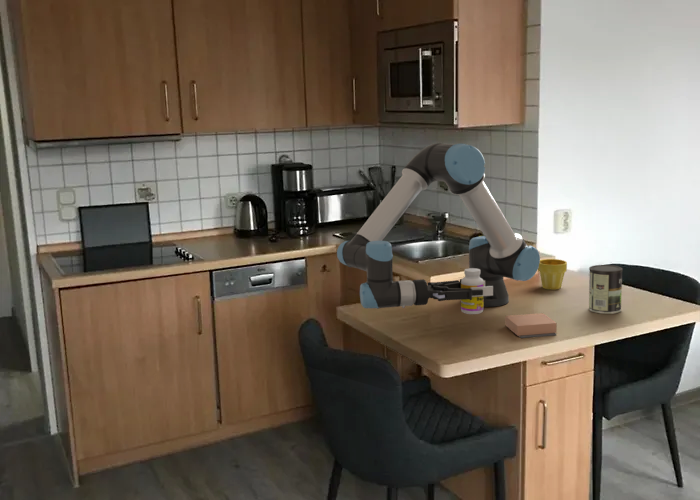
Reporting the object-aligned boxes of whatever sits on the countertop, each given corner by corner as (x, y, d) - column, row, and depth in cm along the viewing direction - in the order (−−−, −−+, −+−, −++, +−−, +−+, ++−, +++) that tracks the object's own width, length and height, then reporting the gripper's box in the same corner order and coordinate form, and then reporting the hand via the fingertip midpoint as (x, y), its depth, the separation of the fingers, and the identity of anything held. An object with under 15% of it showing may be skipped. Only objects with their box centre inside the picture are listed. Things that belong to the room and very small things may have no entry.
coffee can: (618, 305, 253) (620, 264, 250) (623, 314, 243) (624, 271, 240) (586, 305, 255) (587, 264, 252) (589, 313, 245) (590, 271, 242)
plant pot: (569, 290, 275) (570, 264, 273) (541, 291, 275) (541, 265, 273) (562, 283, 285) (562, 258, 283) (534, 284, 285) (534, 259, 283)
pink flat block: (517, 325, 223) (556, 323, 225) (505, 315, 234) (542, 313, 236) (517, 335, 224) (556, 332, 225) (505, 325, 235) (542, 322, 236)
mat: (520, 338, 223) (520, 336, 223) (506, 325, 236) (506, 324, 236) (556, 335, 225) (556, 333, 224) (540, 322, 237) (540, 321, 237)
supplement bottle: (478, 315, 222) (478, 273, 219) (457, 313, 225) (457, 271, 223) (486, 310, 227) (487, 268, 225) (466, 307, 231) (466, 266, 228)
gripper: (406, 297, 233) (478, 292, 236) (420, 314, 214) (499, 308, 217) (405, 273, 231) (478, 268, 234) (420, 288, 212) (499, 282, 215)
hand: (488, 287), depth 226 cm, fingers closed on supplement bottle, 7 cm apart
